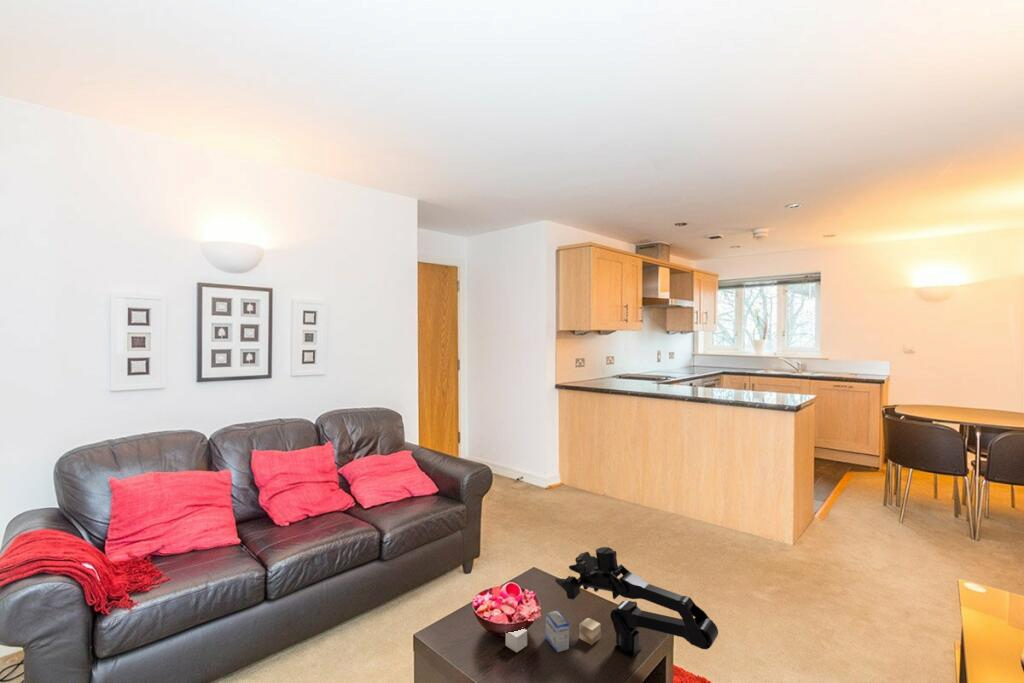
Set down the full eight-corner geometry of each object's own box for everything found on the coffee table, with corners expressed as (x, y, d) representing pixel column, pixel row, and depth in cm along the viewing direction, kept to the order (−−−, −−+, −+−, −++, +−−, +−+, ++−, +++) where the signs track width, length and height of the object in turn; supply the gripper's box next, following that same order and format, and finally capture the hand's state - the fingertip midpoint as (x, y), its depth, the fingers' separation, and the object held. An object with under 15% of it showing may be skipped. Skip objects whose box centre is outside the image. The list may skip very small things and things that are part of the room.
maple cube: (600, 638, 160) (600, 623, 160) (591, 645, 156) (592, 630, 156) (587, 631, 163) (588, 617, 163) (579, 638, 160) (579, 623, 159)
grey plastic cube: (527, 645, 156) (527, 630, 156) (516, 652, 152) (516, 637, 152) (516, 638, 159) (516, 623, 159) (505, 645, 155) (505, 630, 155)
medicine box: (545, 638, 159) (545, 612, 159) (556, 635, 161) (557, 609, 161) (557, 653, 152) (557, 626, 152) (569, 649, 154) (569, 622, 154)
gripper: (608, 544, 168) (571, 539, 177) (582, 570, 153) (543, 564, 163) (615, 575, 168) (577, 569, 177) (589, 604, 153) (549, 596, 163)
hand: (562, 573), depth 170 cm, fingers open, 9 cm apart
